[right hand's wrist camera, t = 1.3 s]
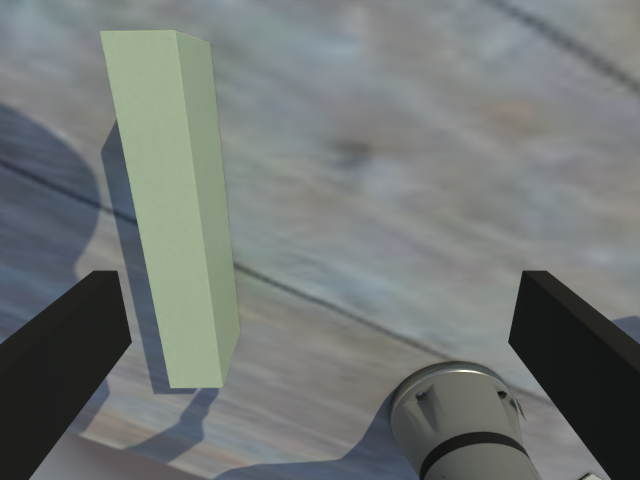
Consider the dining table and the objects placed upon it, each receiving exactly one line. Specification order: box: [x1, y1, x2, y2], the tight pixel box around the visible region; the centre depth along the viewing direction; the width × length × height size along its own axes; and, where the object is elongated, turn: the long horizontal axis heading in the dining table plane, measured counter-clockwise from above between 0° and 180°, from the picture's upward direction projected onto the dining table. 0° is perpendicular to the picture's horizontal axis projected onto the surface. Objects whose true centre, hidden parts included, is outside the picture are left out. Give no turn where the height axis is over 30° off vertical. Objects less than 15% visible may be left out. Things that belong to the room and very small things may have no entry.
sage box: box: [100, 30, 240, 388], centre depth 35 cm, size 30×5×9 cm, turn 1°
